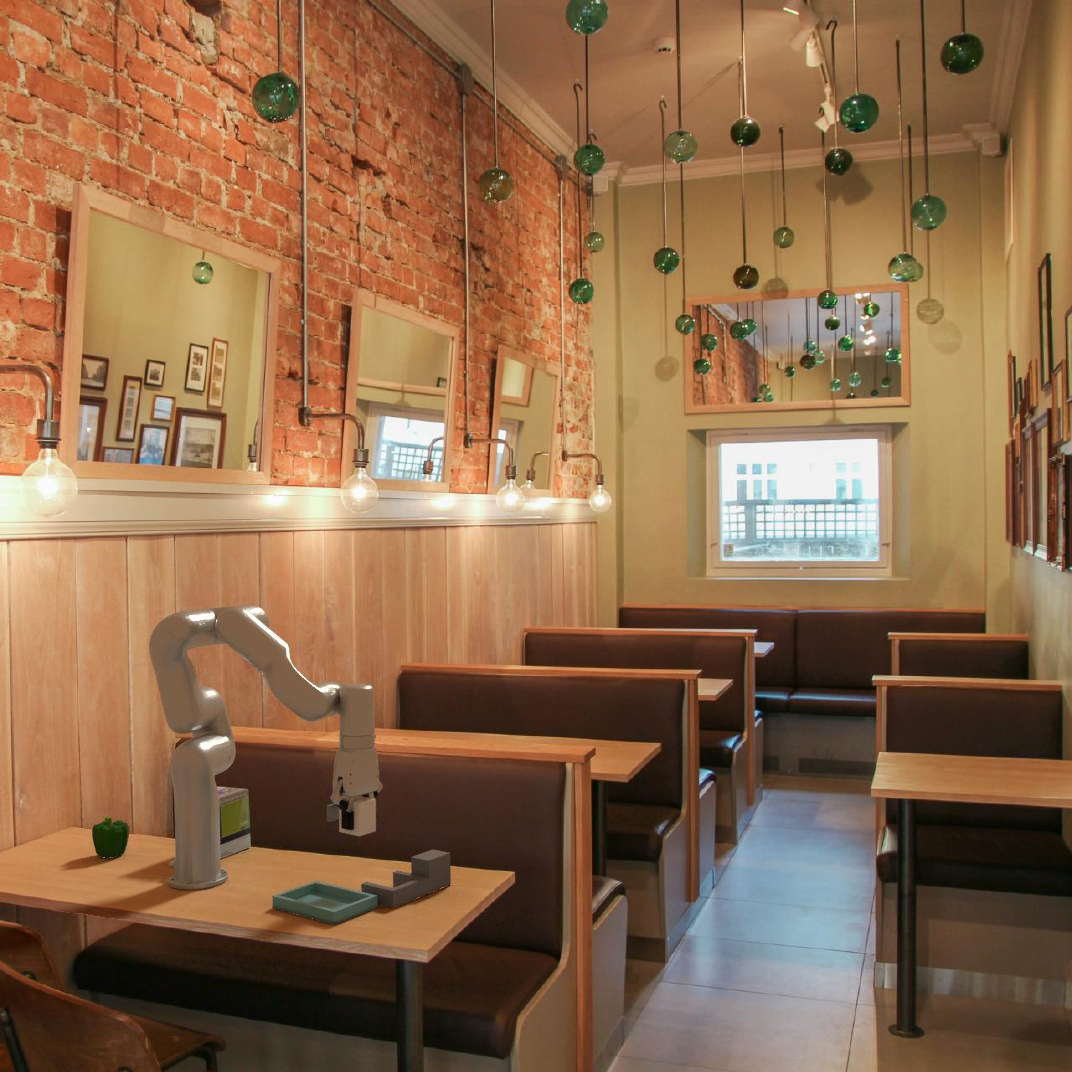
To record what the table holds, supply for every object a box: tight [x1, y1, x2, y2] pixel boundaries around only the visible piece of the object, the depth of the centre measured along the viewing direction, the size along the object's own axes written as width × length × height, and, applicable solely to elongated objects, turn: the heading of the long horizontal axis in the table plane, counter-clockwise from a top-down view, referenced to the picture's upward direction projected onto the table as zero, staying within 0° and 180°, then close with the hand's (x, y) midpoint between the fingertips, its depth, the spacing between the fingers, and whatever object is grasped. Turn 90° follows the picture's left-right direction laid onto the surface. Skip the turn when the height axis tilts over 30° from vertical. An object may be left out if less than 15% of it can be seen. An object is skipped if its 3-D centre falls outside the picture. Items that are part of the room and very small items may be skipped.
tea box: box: [216, 785, 252, 860], centre depth 268 cm, size 15×10×15 cm
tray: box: [271, 880, 379, 926], centre depth 227 cm, size 18×12×2 cm, turn 54°
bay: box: [360, 849, 452, 909], centre depth 236 cm, size 9×18×7 cm, turn 144°
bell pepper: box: [91, 815, 130, 859], centre depth 268 cm, size 8×8×10 cm
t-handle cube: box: [326, 795, 377, 837], centre depth 241 cm, size 10×5×7 cm, turn 54°
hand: (357, 825), depth 240 cm, fingers closed on t-handle cube, 5 cm apart
